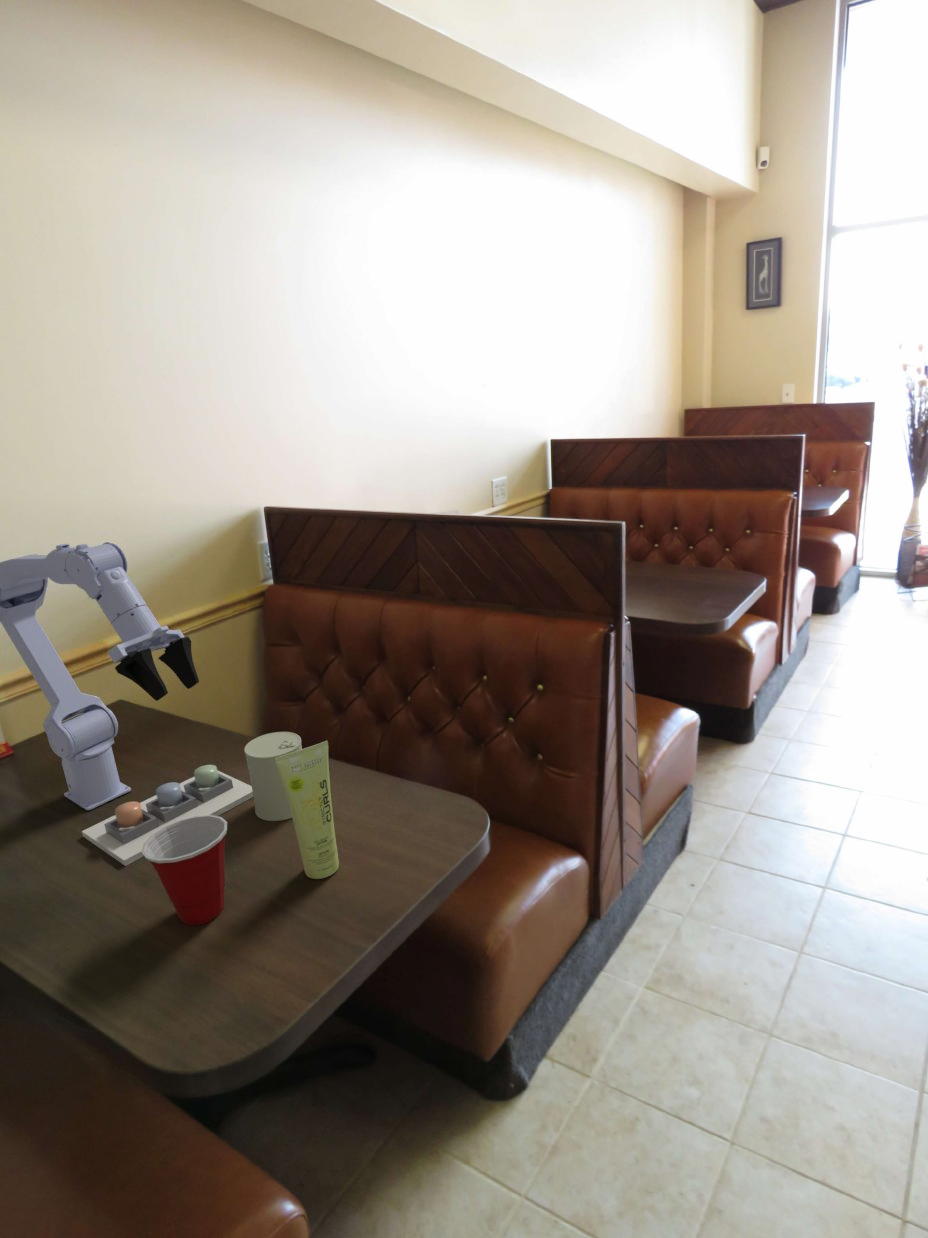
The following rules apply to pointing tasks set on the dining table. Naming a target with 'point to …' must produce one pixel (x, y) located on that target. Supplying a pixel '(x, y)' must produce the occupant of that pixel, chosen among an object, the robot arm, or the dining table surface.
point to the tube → (311, 807)
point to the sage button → (206, 776)
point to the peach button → (128, 814)
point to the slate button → (169, 794)
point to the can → (270, 773)
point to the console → (167, 816)
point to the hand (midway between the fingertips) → (178, 691)
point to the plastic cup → (191, 865)
